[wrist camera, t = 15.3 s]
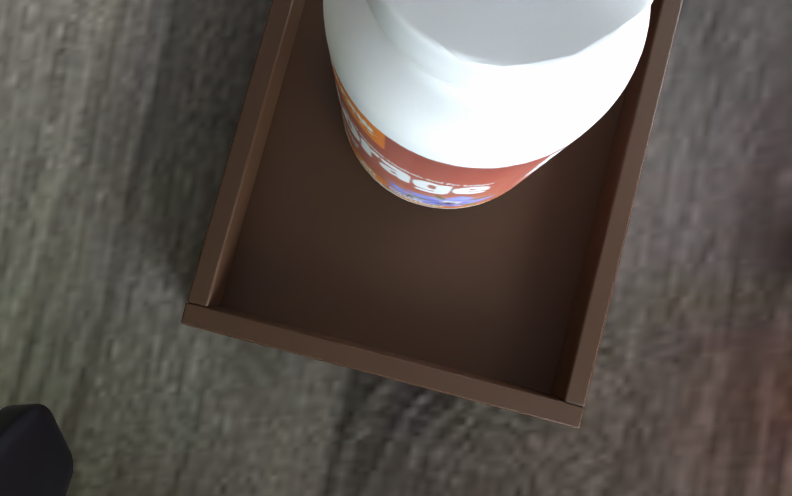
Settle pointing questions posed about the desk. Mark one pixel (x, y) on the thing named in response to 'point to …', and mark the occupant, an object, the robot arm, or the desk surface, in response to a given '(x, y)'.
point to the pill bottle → (475, 86)
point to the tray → (419, 241)
